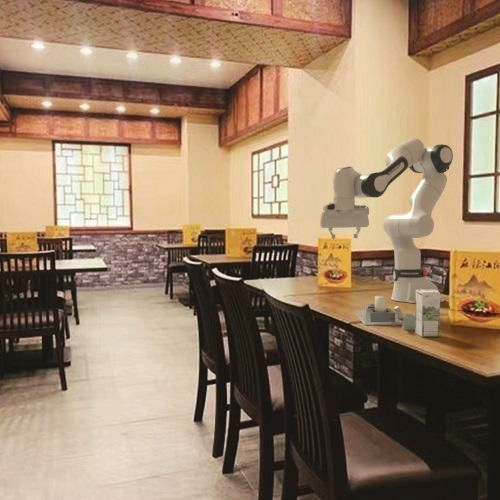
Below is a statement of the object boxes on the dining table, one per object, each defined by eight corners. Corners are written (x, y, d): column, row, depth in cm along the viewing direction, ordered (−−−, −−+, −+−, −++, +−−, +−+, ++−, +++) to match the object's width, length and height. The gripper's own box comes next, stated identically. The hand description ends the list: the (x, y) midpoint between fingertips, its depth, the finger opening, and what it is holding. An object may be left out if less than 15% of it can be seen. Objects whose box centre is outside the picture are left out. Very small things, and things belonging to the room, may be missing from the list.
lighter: (414, 328, 165) (414, 305, 165) (416, 329, 164) (416, 306, 163) (393, 329, 165) (393, 305, 164) (395, 330, 163) (395, 306, 163)
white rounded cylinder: (384, 317, 179) (384, 295, 178) (387, 319, 175) (387, 297, 174) (373, 317, 179) (373, 296, 179) (376, 320, 175) (375, 297, 175)
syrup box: (432, 332, 159) (432, 288, 158) (440, 337, 153) (440, 291, 152) (414, 333, 159) (415, 288, 158) (421, 337, 153) (422, 291, 152)
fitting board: (388, 312, 193) (388, 302, 193) (402, 324, 171) (402, 313, 171) (354, 312, 194) (354, 302, 194) (364, 325, 172) (364, 313, 172)
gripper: (367, 205, 210) (367, 237, 211) (319, 206, 211) (319, 238, 212) (370, 204, 203) (370, 238, 204) (320, 206, 204) (321, 239, 205)
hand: (344, 238), depth 208 cm, fingers open, 8 cm apart
